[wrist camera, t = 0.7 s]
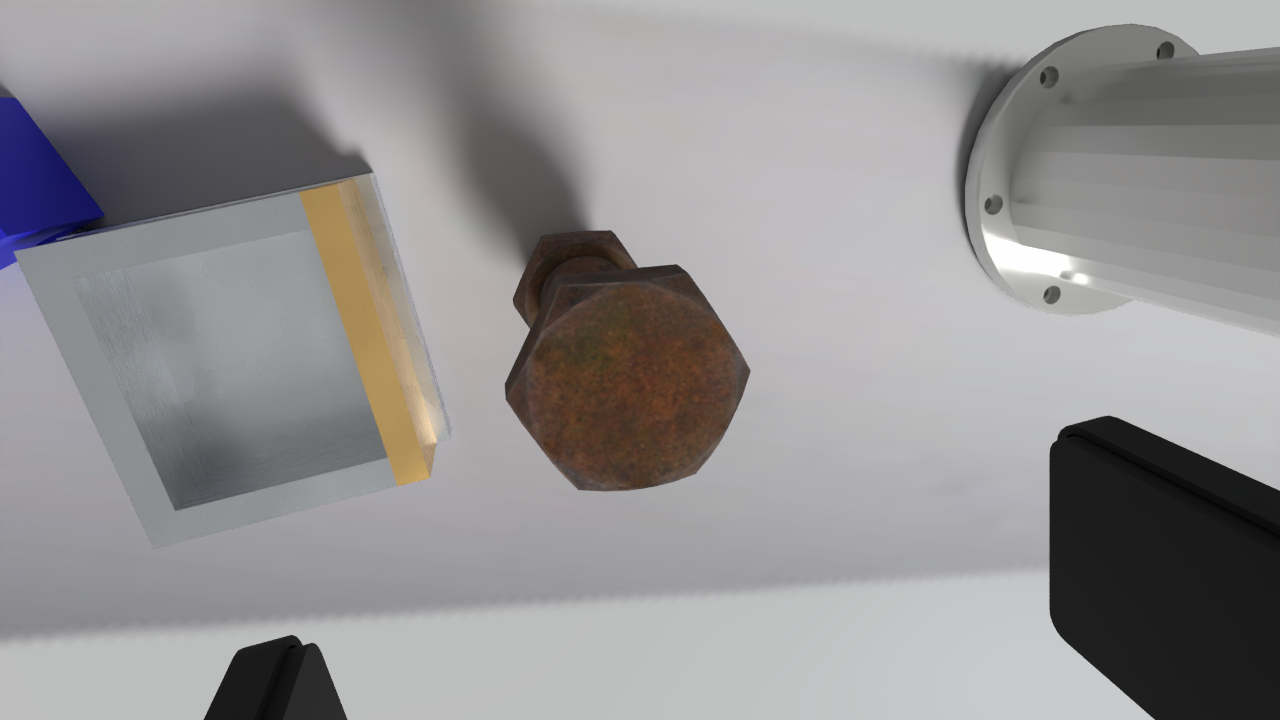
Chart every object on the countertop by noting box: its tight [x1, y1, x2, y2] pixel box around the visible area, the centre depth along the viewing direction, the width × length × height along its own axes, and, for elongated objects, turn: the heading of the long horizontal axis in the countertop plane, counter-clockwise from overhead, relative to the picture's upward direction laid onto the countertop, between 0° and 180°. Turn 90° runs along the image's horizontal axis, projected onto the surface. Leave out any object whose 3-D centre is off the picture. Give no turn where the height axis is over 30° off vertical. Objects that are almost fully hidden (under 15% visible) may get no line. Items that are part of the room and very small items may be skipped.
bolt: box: [505, 230, 750, 491], centre depth 24 cm, size 6×5×15 cm
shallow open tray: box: [13, 172, 451, 549], centre depth 28 cm, size 11×11×4 cm
